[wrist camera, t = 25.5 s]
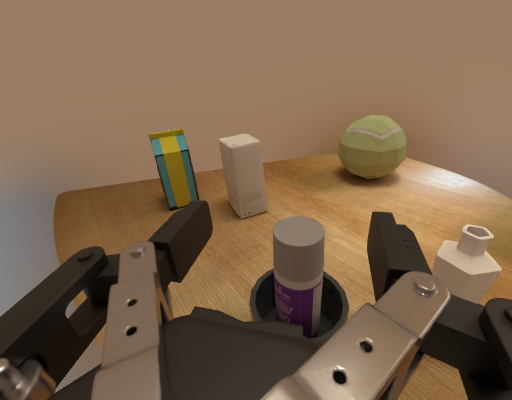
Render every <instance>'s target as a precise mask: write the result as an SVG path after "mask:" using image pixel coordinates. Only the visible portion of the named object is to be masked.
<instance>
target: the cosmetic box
mask: <svg viewBox="0 0 512 400" xmlns="http://www.w3.org/2000/svg"><path fill="white" fill-rule="evenodd" d="M219 146H220V151H221V157H222V162H223V168H224V174H225V180H226V185H227V191H228V197H229V203H230V205H231V206H232V208H233V209H234V210H235V212H236V213H237V214H238V216H239V217H240V218H241V219H243V218H247V217H250V216H254V215H257V214H260V213H263V212H266V211H267V202H266V192H265V181H264V170H263V159H262V149H261V141H259V140H257V139H256V138H253V137H251V136H250V135H248V134H240V135H236V136H231V137H226V138H222V139H219Z"/></svg>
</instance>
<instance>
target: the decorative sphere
mask: <svg viewBox="0 0 512 400" xmlns="http://www.w3.org/2000/svg"><path fill="white" fill-rule="evenodd" d="M406 149H407V141H406V138H405V134H404V131H403V130H402V127H400V126H399V125H398V124H396V123H395V122H394V121H393V120H392V119H390V118H389V117H388V116H381V115H370V116H367V117H364V118H362V119H360V120H358V121H355V122H353V123H352V124H351V125H350V126H349V127H348V129H347V130H346V132H345V133H344V135H343V136H342V138H341V141H340V143H339V157H340V160H341V162H342V164H343V165H344V166H345V167H346V168H347V169H348V171H349V172H350V173H352V174H354V175H357V176H360V177H363V178H366V179H374V178H379V177H383V176H385V175H387V174H389V173H391V172H393V171H394V170H395V169H396V168H397V167H398V166H399V165H400V164H401V163H402V162H403V161H404V158H405V154H406Z"/></svg>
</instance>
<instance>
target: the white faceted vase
mask: <svg viewBox="0 0 512 400" xmlns="http://www.w3.org/2000/svg"><path fill="white" fill-rule="evenodd" d="M462 232H463V233H462V236H461V238H460V241H459V242H455V241H449V240H445V241H444V243H443V244H442V246H441V247H440V249H439V250H438V252H437V254H436V258H435V262H434V266H433V270H432V275H433V276H435V277H436V278H438V279H440V280H441V281H442V282H443V283H445V284H446V286H447V287H448V288H449V290H450V292H451V294H453V295H455V296H457V297H459V298H462V299H465V300H468V301H471V302H474V303H477V304H478V303H479V302H480V301H481V299H482V298H483V296H484V295H485V293H486V292H487V290H488V289H489V288H490V286H491V285H492V283H493V282H494V280H495V279H496V277H497V276H498V275H499V273H500V272H501V270H502V269H501V267H500V266H499V265H498V264H497V263H496V262H495V260H494V259H493V258H492V257H491V256H490V255H489V254H488V252H487V251H486V248H487V246H488V244H489V242H490V239H492V238H494V235H493V234H492V233H491V232H490V231H489V230H488V229H486V228H485V227H480V226H475V225H469V224H465V225H464V227H463V228H462Z"/></svg>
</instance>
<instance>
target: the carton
mask: <svg viewBox="0 0 512 400" xmlns="http://www.w3.org/2000/svg"><path fill="white" fill-rule="evenodd" d="M169 125H170V124H169V122H167V123H166V131H164V132H157V133H152V134H149V137H150V140H151V144H152V148H153V152H154V155H155V159H156V163H157V168H158V172H159V176H160V179H161V183H162V187H163V191H164V192H165V195H166V199H167V202H168V206H169V210H170V211H171V210H175V209H179V208H183V207H186V206H187V205H188V203H189V202H190V201H192V200H199V197H198V192H197V184H196V179H195V175H194V171H193V166H192V163H191V158H190V154H189V149H188V146H187V143H186V140H185V137H184V134H183V129H176V130H170V128H169V127H170V126H169Z"/></svg>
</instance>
